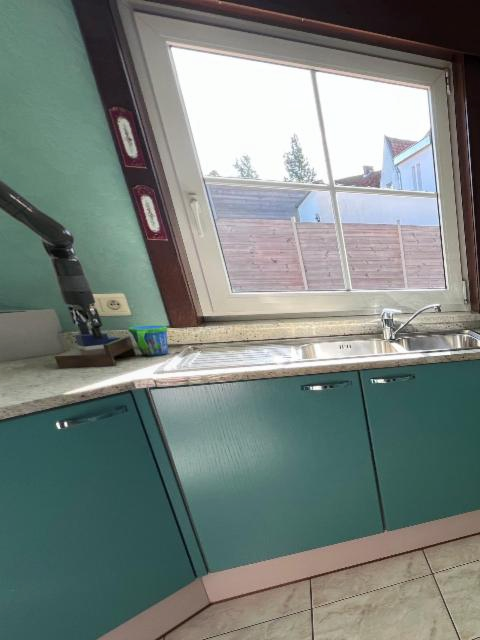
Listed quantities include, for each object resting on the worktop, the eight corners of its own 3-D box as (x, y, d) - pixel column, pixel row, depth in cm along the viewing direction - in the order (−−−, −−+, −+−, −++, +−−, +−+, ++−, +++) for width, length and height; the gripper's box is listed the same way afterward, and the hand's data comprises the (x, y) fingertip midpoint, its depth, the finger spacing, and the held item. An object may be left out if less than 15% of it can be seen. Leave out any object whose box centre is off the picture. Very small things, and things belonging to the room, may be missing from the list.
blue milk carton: (85, 350, 168) (80, 336, 167) (78, 349, 170) (73, 335, 168) (124, 345, 178) (120, 332, 176) (118, 344, 180) (113, 331, 178)
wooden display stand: (58, 368, 160) (50, 346, 157) (86, 357, 177) (79, 337, 174) (114, 365, 166) (107, 345, 163) (136, 355, 182) (130, 336, 180)
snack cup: (161, 358, 179) (152, 329, 175) (126, 358, 176) (117, 330, 173) (182, 350, 193) (175, 324, 189) (151, 351, 190) (142, 324, 187)
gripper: (50, 288, 165) (68, 337, 171) (70, 291, 159) (88, 341, 165) (79, 287, 171) (96, 334, 177) (100, 289, 166) (116, 338, 171)
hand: (92, 337), depth 171 cm, fingers open, 8 cm apart
